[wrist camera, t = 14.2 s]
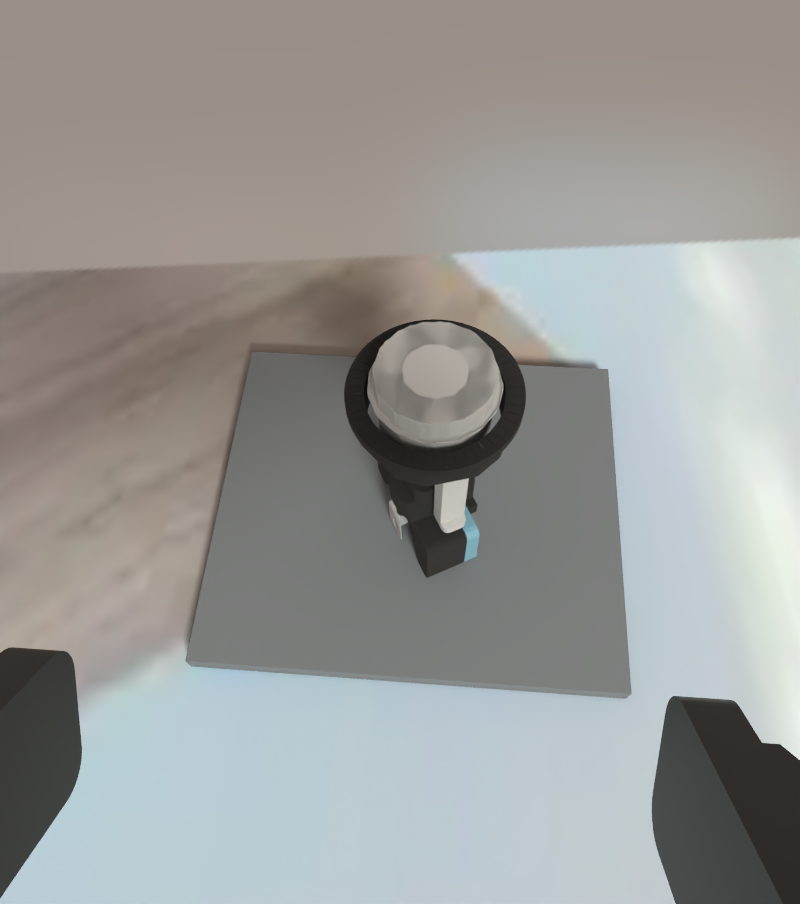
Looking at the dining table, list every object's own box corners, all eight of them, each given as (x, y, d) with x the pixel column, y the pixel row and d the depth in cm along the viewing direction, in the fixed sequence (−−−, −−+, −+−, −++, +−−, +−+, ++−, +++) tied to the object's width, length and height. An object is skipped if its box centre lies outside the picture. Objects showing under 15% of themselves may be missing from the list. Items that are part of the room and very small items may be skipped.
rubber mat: (191, 666, 28) (185, 660, 27) (255, 361, 35) (252, 351, 34) (625, 698, 27) (631, 694, 26) (604, 379, 34) (607, 369, 33)
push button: (331, 461, 31) (298, 301, 22) (447, 416, 32) (458, 246, 23) (395, 603, 28) (385, 482, 19) (521, 548, 29) (565, 410, 20)
